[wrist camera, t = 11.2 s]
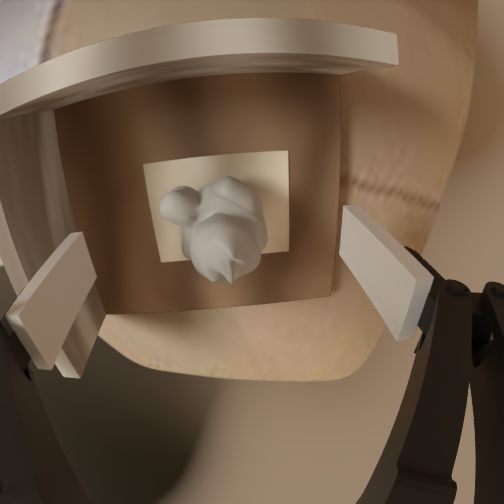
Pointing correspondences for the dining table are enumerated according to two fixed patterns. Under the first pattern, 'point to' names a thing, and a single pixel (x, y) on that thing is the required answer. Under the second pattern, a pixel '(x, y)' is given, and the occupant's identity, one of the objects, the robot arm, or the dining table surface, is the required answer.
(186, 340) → the dining table surface
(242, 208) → the white lumpy figure
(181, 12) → the dining table surface
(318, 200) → the arena
